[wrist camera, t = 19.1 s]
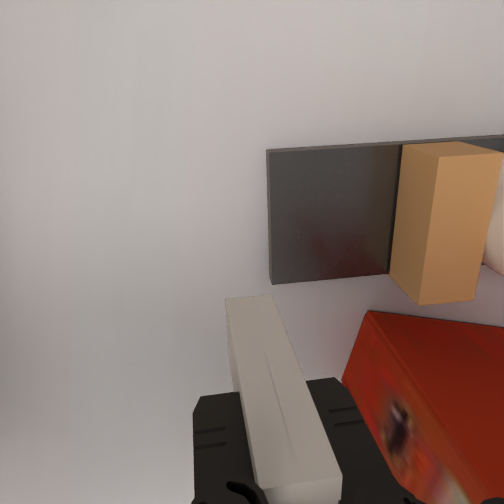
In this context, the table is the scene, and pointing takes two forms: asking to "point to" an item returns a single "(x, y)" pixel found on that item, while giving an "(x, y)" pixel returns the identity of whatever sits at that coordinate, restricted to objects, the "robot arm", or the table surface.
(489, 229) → the beverage can
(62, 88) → the table surface
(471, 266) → the block
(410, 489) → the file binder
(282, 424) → the robot arm
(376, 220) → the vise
